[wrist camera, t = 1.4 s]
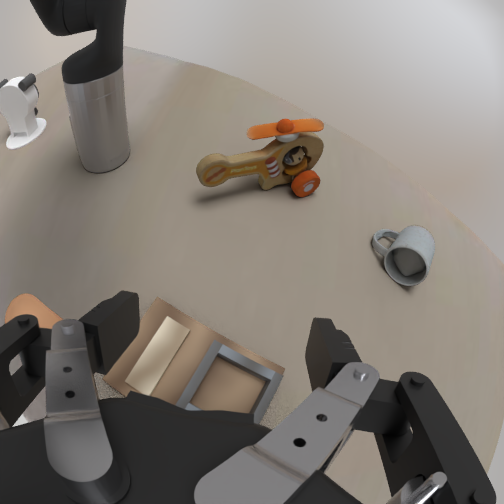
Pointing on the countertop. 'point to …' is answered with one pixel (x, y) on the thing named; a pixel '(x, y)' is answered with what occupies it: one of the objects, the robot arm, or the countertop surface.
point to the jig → (193, 366)
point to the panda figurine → (21, 110)
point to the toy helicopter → (272, 158)
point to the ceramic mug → (407, 254)
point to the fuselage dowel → (31, 310)
